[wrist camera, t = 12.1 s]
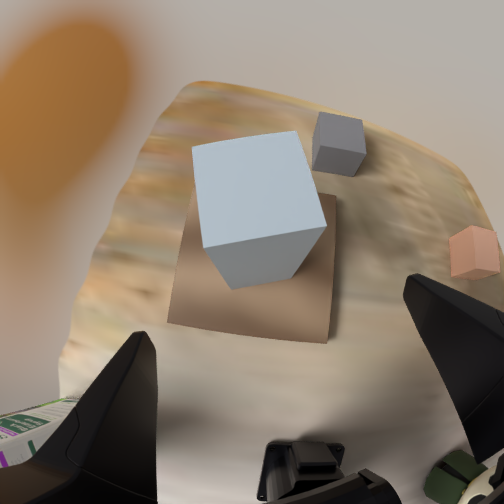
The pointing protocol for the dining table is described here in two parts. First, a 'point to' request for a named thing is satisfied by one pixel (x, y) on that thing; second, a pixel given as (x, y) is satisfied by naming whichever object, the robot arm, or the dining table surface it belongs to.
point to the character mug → (459, 480)
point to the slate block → (256, 207)
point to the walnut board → (255, 290)
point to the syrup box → (30, 430)
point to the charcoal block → (338, 144)
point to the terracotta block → (474, 253)
